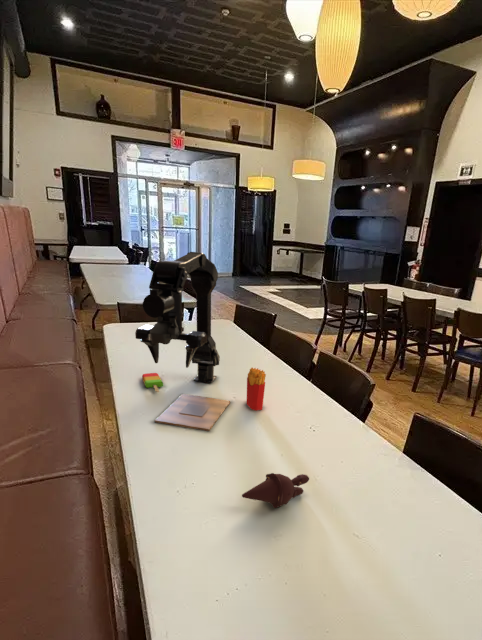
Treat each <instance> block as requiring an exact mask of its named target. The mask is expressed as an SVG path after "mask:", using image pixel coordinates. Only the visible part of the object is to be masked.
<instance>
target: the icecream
mask: <svg viewBox="0 0 482 640" xmlns="http://www.w3.org/2000/svg"><path fill="white" fill-rule="evenodd" d="M309 480H310V477H309V476H308V474H304V473H302V474H298V475H297V476H295V477H293V478H292V479H291V478H290V477H289V476H286V475H284V474H282V473H274V472H271V473H267V474H265V480H264V481H262V482H260V483H258V484H257V485H256V486H253V487H252V488H251V489H249V490H247V491H246V492H244V493H242V494H241V498H243V499H250V500H254V501H260V502H264V503H269V504H271V506H272V507H273V508H274V509H278V508H280V507H281V506H284V505H285V506H286V505H288V503H289V502H290V501H291V500H292V499H294V498H295V497H297V496H301V495H302V494H304V488H303V487H300V486H302V485H305V484H307V483H308V482H309Z"/></svg>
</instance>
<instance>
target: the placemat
mask: <svg viewBox="0 0 482 640" xmlns="http://www.w3.org/2000/svg"><path fill="white" fill-rule="evenodd" d="M230 404H231V400H227V399H220V398H212V397H207V396H200V395H194V394H188V393H181V394H180V396H179V397H178V398H176V399H175V400H174V401H173V402H172V403H171V404H170V405H169V406H167V408H166V409H165V410H164V411H163V412H162V413H160V414H159V415H158V417H156V418H155V419H154V423H158V424H162V425H170V426H176V427H181V428H189V429H192V430H200V431H206V432H210V431H211V430H212V428H213V427H214V426H215V424H216V423H217V422H218V420H219V419H220V418H221V416H222V415H223V414H224V412H225V410H226V409H227V408H228V406H229V405H230Z"/></svg>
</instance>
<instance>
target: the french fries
mask: <svg viewBox="0 0 482 640" xmlns="http://www.w3.org/2000/svg"><path fill="white" fill-rule="evenodd" d="M266 376H267V374H266V371H264V369H259V368H256V367H250V368H249V371H248V373H247V376H246V406H247V407H248V408H250V409H251V410H252V411H261V410H263V407H264V398H265V388H266Z"/></svg>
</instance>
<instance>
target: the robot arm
mask: <svg viewBox="0 0 482 640" xmlns="http://www.w3.org/2000/svg"><path fill="white" fill-rule="evenodd" d="M188 277H189V279H190V286H191V288H192V289H193V291H194V293H195V295H196V297H195V298H196V299H195V301H196V330H192V331H191V332H189V333H185V332H184V331H185V327H183V318H184V317H185V313H184V312H183V292H184V286H185V284H186V282H187V280H188ZM218 278H219V273H218V269H217V267H216V265H215V263H213V261H212V260H210V259H209V258H208V257H207V255H206V254H205V253H203V252H198V251H189V252H187V253H186V254H185V255H183V256H181V257H179V258H177V259H174V260H159V261H157V262H156V264H155V266H154V267H153V272H152V275H151V279H150V282H149V286H148V289H149V294H148V295H145V297H144V298H143V301H142V310H143V312H144V313H145V314H146V315H147V316H149V317H150V318H153V319H156V318H157V321H156V323H155V324H154V325H151V324H143V325H142V326H139V327H137V328H136V329H135V333H134V334H135V335H134V336H135V339H137V340H139V342H141V343H143V344H145V345H146V346H147V348H148V350H149V352H150V354H151V357H152V359H153V361H154V363H155V364H158V363H159V359H160V344H162V345H169V344H170V343H171V341H172V340H175V341H177V340H178V341H183V342H184V341H185V343H186V346H184V348H185V350H186V352H185V353H186V354H185V368H186V369H188V368H189V367H190V365H191V363H192V364H197V372H196V373H197V376H196V377H194V379H193V381H194V382H200V383H205V384H206V383H207V384H212V383H213V382H214V381H215V380H216V379H217V378H218V375H215V373H214V372H215V367H216V366H220V361H221V360H220V359H221V358H220V354H219V351H218V349H217V344H216V341H215V340H214V338H213V337H212V293H213V291H214V290H215V288H216V286H217V281H218V280H219V279H218ZM183 332H184V333H183Z"/></svg>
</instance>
